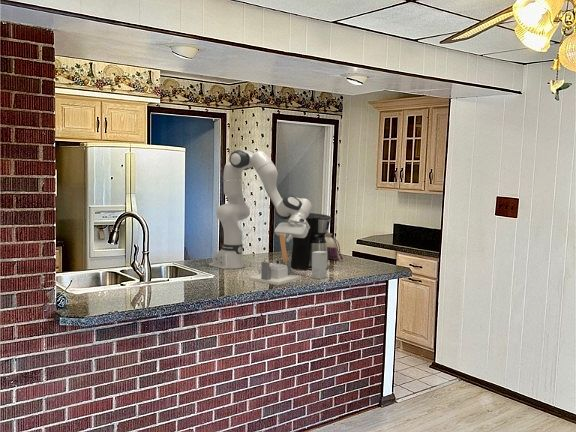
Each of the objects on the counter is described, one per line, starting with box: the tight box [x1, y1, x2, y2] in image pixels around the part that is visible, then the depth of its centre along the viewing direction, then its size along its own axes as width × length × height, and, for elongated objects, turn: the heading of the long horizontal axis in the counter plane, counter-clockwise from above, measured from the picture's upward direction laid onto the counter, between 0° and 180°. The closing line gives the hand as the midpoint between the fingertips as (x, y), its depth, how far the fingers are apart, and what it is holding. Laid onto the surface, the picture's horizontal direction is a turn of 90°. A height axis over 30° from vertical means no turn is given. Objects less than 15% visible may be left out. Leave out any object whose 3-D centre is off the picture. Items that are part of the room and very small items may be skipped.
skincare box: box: [311, 251, 328, 280], centre depth 307 cm, size 8×6×15 cm
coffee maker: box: [275, 212, 332, 271], centre depth 335 cm, size 23×32×34 cm
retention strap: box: [278, 234, 289, 264], centre depth 304 cm, size 18×3×1 cm
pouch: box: [324, 231, 344, 261], centre depth 370 cm, size 25×8×19 cm, turn 57°
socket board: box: [248, 258, 303, 286], centre depth 299 cm, size 20×22×11 cm
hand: (285, 241), depth 304 cm, fingers closed
